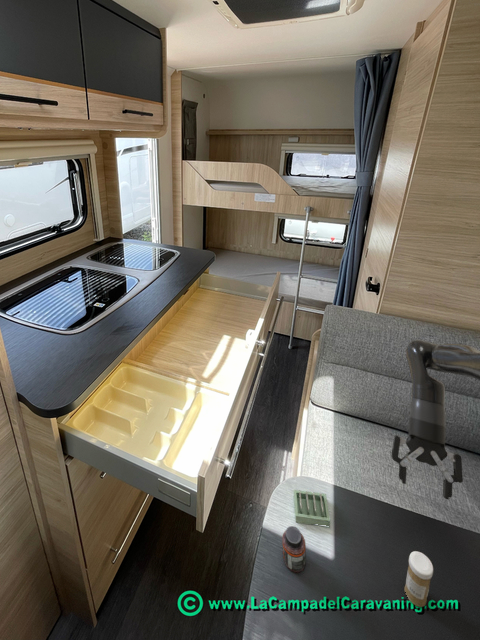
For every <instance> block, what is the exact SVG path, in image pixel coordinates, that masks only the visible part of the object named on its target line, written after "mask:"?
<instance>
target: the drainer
mask: <svg viewBox="0 0 480 640" xmlns="http://www.w3.org/2000/svg"><path fill="white" fill-rule="evenodd" d="M299 490H300V489H299ZM299 490H298V489H293V503H294V518H295V523H298V524H305V525H311V524H318V525H326V526H329V527H328V528H331V517H330V511H329V505H328V499H327V494H326V493H321V492H314V491H307V490H300V491H301V502H302V514H301V513H300V501H299ZM306 491H307V493H308V503H309V515H307V505H306ZM313 492H314V495H315V503H316V516H314V507H313ZM320 493H321V496H322V503H323V510H324V517H322V516H321V509H320Z"/></svg>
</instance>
